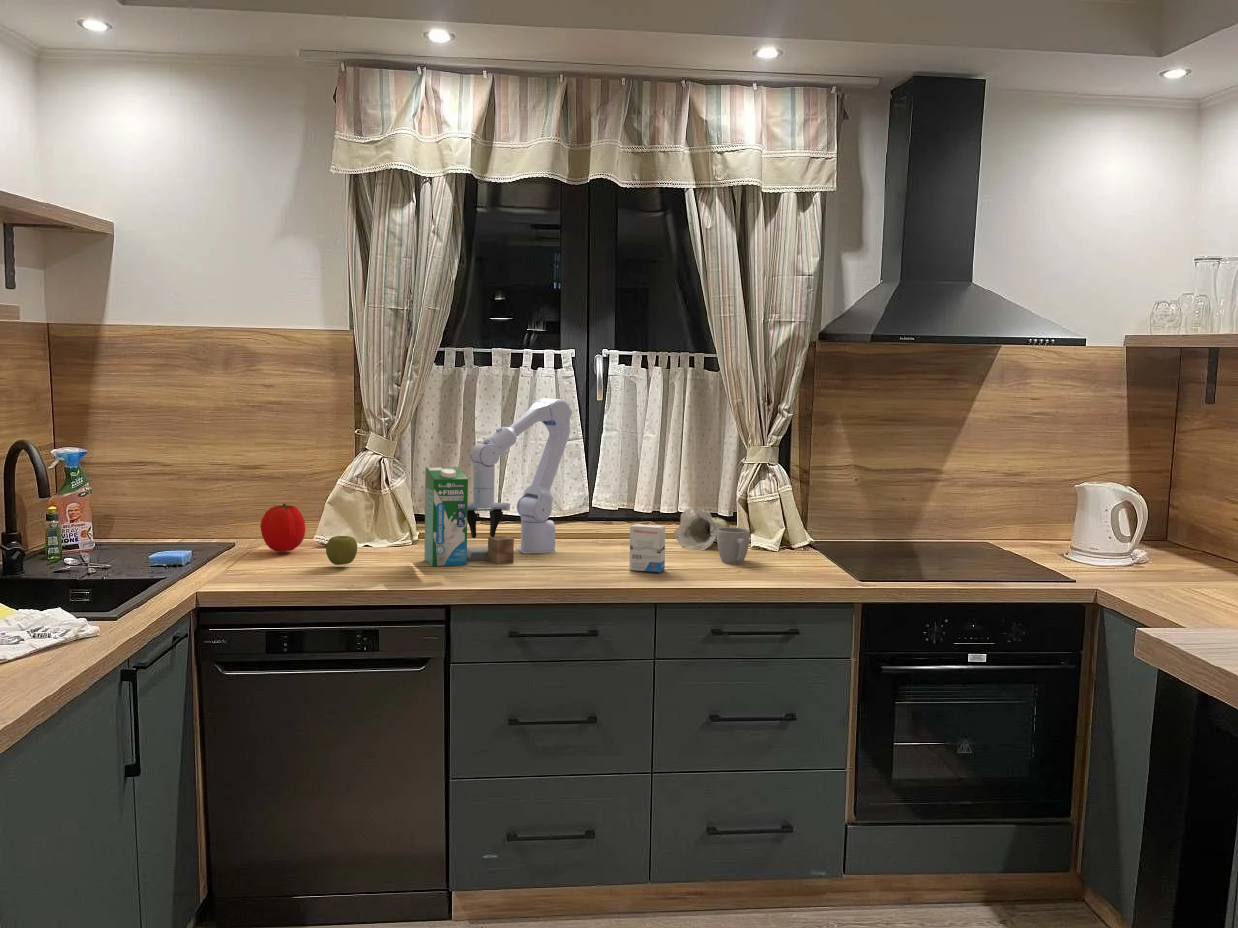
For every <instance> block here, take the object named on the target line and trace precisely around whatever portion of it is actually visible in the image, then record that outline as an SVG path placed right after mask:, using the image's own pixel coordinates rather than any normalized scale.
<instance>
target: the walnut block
mask: <svg viewBox="0 0 1238 928" xmlns="http://www.w3.org/2000/svg"><path fill="white" fill-rule="evenodd" d="M487 546H488V560H487V562H489V563H492V564H495V565H503V564H514V555H515V554H514V553H515V552H514V551H515V550H514V548H515V547H514V546H515V539H514V538H512V537H509V536H507V535H500V536H499V535H498V536H495V537H491V536H489V537H488V538H487Z"/></svg>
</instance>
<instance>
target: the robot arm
mask: <svg viewBox="0 0 1238 928" xmlns="http://www.w3.org/2000/svg"><path fill="white" fill-rule="evenodd" d="M572 414H573V409H571V407H570V404H569V402H568V401H567V400H566V399H563V398H558V399H557V398H556V399H555V398H543V397H542V398H540V399H538V400H537V401H536V402H534V403H532V405H531V406H530V408H528V410H527V411H525V412H524V413H523V414H521V416H520V417H519V418H517V419H516V420H515V421H514V422H513V423H512V424H511V425H509V427H508V426H502V427H497V428H495V432H494V433H493V434H492V435H490V436H489V437H487V438H484V439H483V442H482V443H477V444H475V445H474V446H473V447H472V449H471V452H470V453H469V460H470V462H472V469H473V472H472V473H473V478H472V479H473V482H472V483H473V484H472V489H473V490H472V491H473V492H472V502H468V509H467V525H468V526H469V527H468V528H469V531H470V537H471V539H477V520H478V519H477V518H478V514H477V513H476V512H488V511H489V520H490V521H489V522H490V525H489V537H496V532H497V528H498V525H499V523H500V521H501V519H502V517H503V514H504V512H503V511H511V504H510V502H495V478H496V477H495V475H496V472H495V471H496V468H495V467H496V464H498V462H499V459H500V457H501V455H502V454H503V453H505V452H506V451H507V450H509V449H511V448H512V447H513V446H514V445H515V444H516V443H517V439H518V436H520V435H521V434H523V433H524V432H525V431H527V430H528V429H530V428H531V427H532V426H534V425H535V424H537V423H538V422H541V423H542V424H543V425H544V426H545V427H546V429H547V432H548V433H549V435H548V437H547V440H546V443H545V445H544V446H545V447H544V449H543V451H542V454H541V457H540V461H539V462H538V465H537V468H536V472H535V474H534V477H533V480H532V483H531V484H530V486H528V487H527V488H526V489H525V490H524V491H523V494H522V496H520V498H519V499H518V500H517V503H516V511H517V513H518V515H520V521H521V522H520V547H516V548H515V549H516V550H517V551H519V552H520V553H523V554H524V555H529V554H544V553H546V554H547V553H557V551H556V525H555V522H554V521H553V520H551V519H549V518H550V516H551V515H552V511H553V506H552V504H553V501H554V496H553V495H552V493H551V488H552V486H553V482H554V480H555V477H556V473H557V471H558V469H559V466H560V463H561V460H562V458H563V455H564V452H565V449H566V445H567V443H568V439H569V438H570V434H571V425H570V424H571V423H570V422H571V420H570V419H571V416H572Z"/></svg>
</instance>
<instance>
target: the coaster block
mask: <svg viewBox="0 0 1238 928" xmlns="http://www.w3.org/2000/svg"><path fill="white" fill-rule="evenodd" d="M467 559H468V560H469V561H470V562H471V561H473V562H474V561H488V545H486V546H484V545H483V546H467Z"/></svg>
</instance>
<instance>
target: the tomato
mask: <svg viewBox="0 0 1238 928" xmlns="http://www.w3.org/2000/svg"><path fill="white" fill-rule="evenodd" d="M260 531H261V537H262V539H263V541H264V543H265V544H266V546H267V547H268V548H269V549H270V550H272V551H275V552H289V551H294V550H295V549H296V548H298V547H299V546H300V545H301V544H302V543H303V541H304V539H305V536H306V523H305V519H304V516H303V514H302V513H301V511H300V510H299V509H298V508H297V507H296V506H294V505H289V504H287V503H282V505H276V504H273V506H272V507H270V508H268V510H267V511H266V512H265V513H264V515H263V517H262V519H261V522H260Z"/></svg>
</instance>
